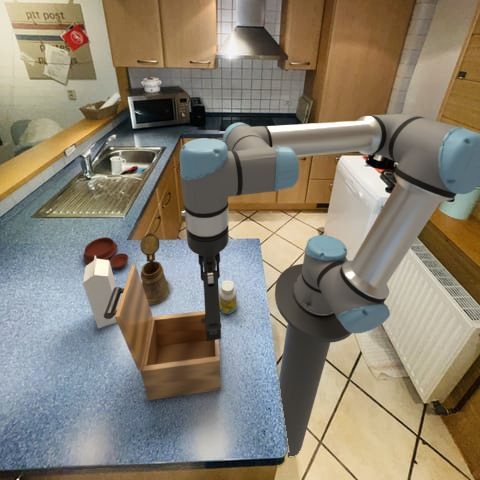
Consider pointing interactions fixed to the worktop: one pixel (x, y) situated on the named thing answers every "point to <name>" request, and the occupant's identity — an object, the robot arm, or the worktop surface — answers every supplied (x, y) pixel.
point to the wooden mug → (153, 271)
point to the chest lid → (132, 315)
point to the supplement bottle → (227, 297)
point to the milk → (99, 289)
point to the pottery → (105, 252)
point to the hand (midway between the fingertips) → (211, 304)
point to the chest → (180, 357)
